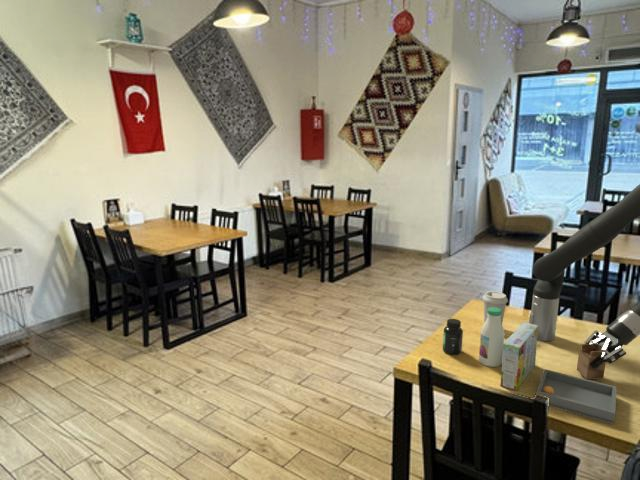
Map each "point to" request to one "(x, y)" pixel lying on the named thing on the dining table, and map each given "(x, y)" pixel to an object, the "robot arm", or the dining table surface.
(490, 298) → the coffee cup
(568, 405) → the tray
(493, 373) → the dining table surface
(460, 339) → the supplement bottle
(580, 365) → the wooden box
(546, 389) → the ball
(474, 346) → the dining table surface
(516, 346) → the snack box
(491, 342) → the milk bottle
